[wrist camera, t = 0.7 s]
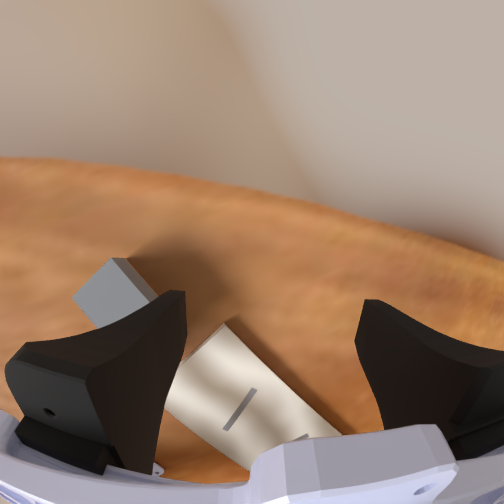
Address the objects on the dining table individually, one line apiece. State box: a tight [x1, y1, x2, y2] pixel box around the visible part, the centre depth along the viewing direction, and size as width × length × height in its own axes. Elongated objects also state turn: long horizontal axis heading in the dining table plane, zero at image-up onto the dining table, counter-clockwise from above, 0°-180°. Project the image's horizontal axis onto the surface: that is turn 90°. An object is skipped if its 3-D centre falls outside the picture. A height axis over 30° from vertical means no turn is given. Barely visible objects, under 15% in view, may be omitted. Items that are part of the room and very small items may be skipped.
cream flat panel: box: [164, 323, 342, 472], centre depth 30 cm, size 11×24×1 cm, turn 42°
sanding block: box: [72, 258, 159, 329], centre depth 26 cm, size 5×9×6 cm, turn 42°
